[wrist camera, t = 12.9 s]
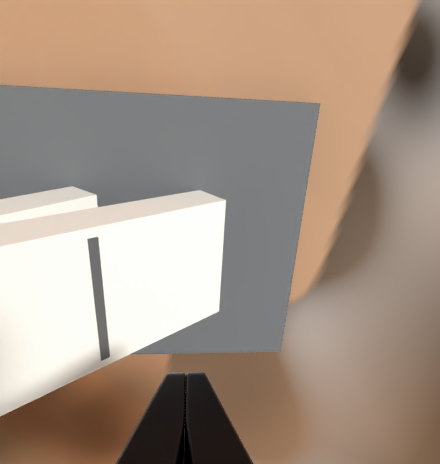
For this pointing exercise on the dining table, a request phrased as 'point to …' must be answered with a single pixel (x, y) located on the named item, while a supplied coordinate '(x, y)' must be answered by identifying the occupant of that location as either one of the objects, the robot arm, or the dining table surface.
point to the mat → (180, 184)
